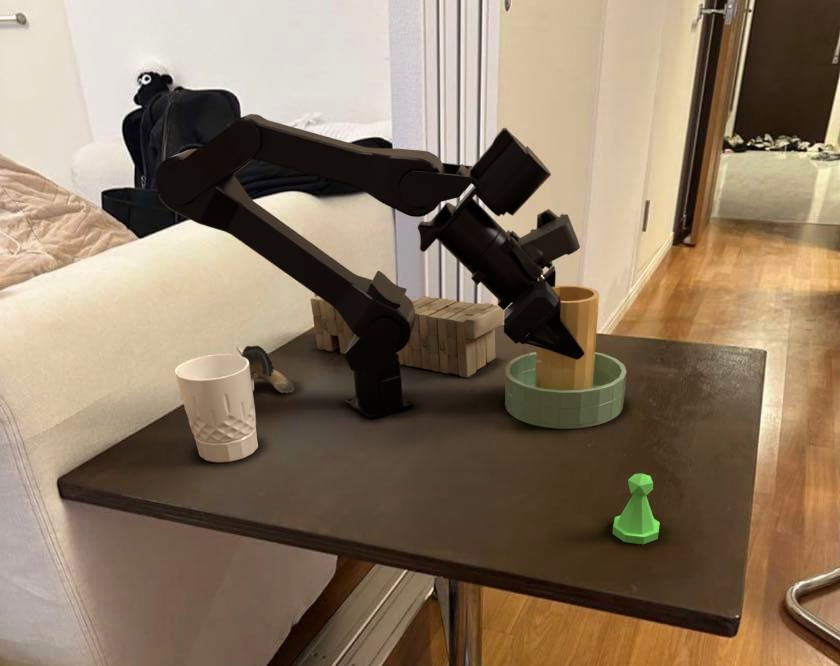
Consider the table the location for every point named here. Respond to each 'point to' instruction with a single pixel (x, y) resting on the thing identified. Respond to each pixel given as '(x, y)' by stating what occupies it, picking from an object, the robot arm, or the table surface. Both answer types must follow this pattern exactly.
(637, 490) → the game piece
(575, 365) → the tumbler
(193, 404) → the white cup
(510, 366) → the pan
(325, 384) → the table surface
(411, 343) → the block tower
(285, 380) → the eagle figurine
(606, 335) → the table surface
